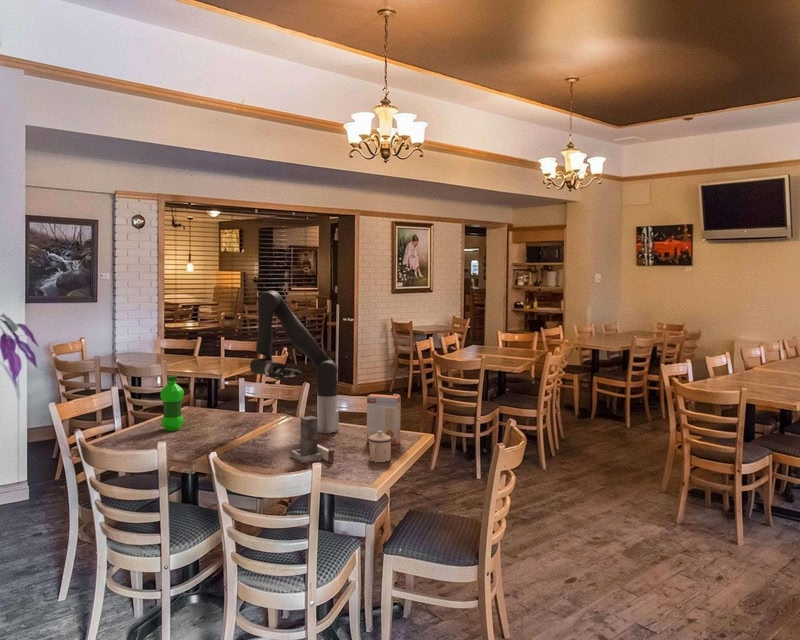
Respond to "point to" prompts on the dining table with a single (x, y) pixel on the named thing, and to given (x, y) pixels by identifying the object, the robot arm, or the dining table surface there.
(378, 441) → the teacup with lid
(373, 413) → the cracker box
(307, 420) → the post
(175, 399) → the plastic bottle
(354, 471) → the dining table surface
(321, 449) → the gate panel
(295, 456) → the grey open box
